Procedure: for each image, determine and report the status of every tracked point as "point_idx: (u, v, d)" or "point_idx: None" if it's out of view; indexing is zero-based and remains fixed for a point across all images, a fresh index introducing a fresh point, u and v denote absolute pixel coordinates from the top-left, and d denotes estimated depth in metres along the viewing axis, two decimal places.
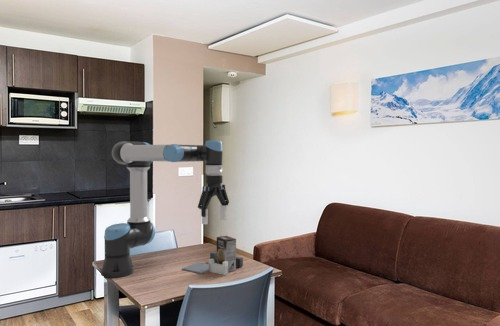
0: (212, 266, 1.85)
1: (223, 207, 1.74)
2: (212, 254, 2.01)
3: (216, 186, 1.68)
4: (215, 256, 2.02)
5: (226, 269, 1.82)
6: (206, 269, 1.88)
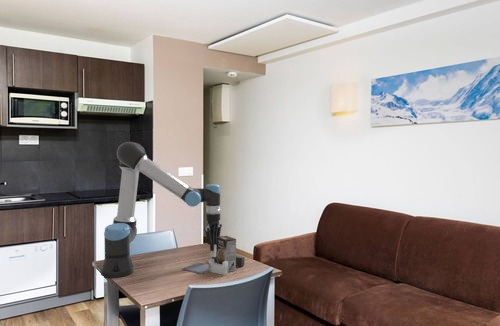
0: (212, 266, 1.85)
1: None
2: None
3: (215, 222, 2.01)
4: None
5: (226, 269, 1.82)
6: (206, 269, 1.88)
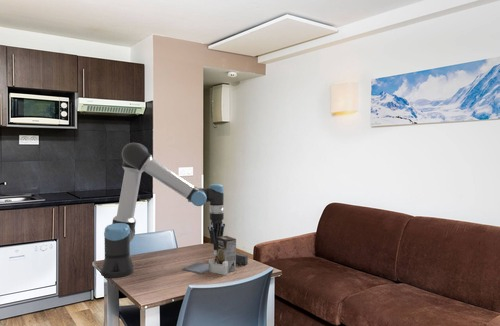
0: (212, 266, 1.85)
1: None
2: None
3: (218, 222, 2.04)
4: None
5: (226, 269, 1.82)
6: (206, 269, 1.88)
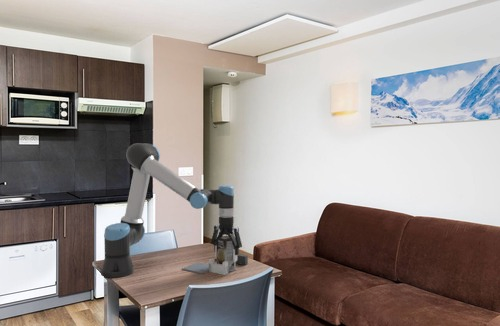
0: (212, 266, 1.85)
1: None
2: None
3: (225, 226, 1.89)
4: None
5: (226, 269, 1.82)
6: (206, 269, 1.88)
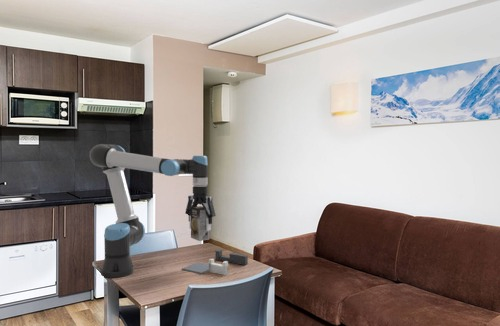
0: (212, 266, 1.85)
1: None
2: (217, 252, 2.05)
3: (199, 196, 1.89)
4: (220, 254, 2.06)
5: (226, 269, 1.82)
6: (206, 269, 1.88)
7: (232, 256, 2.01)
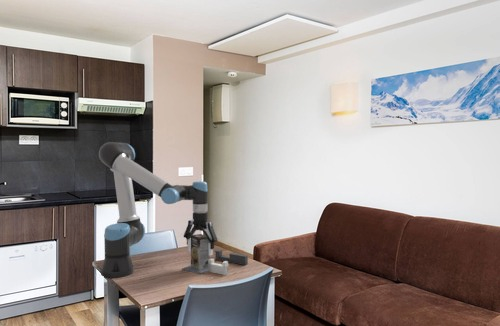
0: (212, 266, 1.85)
1: None
2: (217, 252, 2.05)
3: (199, 222, 1.90)
4: (220, 254, 2.06)
5: (226, 269, 1.82)
6: (206, 269, 1.88)
7: (232, 256, 2.01)
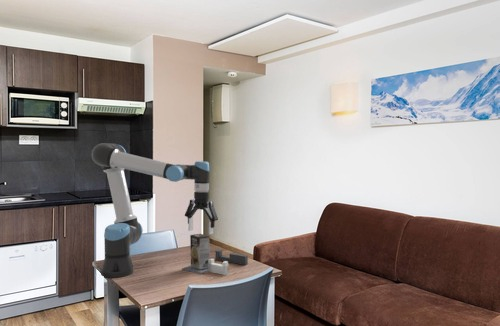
0: (212, 266, 1.85)
1: None
2: (217, 252, 2.05)
3: (200, 201, 1.92)
4: (220, 254, 2.06)
5: (226, 269, 1.82)
6: (206, 269, 1.88)
7: (232, 256, 2.01)
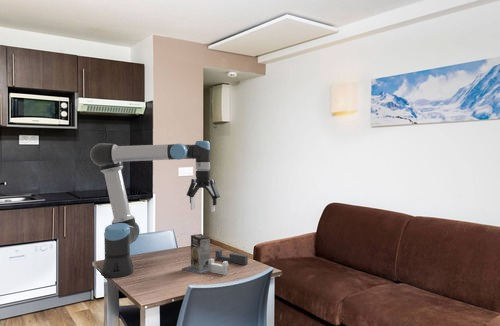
0: (212, 266, 1.85)
1: None
2: (217, 252, 2.05)
3: (201, 180, 1.96)
4: (220, 254, 2.06)
5: (226, 269, 1.82)
6: (206, 269, 1.88)
7: (232, 256, 2.01)
